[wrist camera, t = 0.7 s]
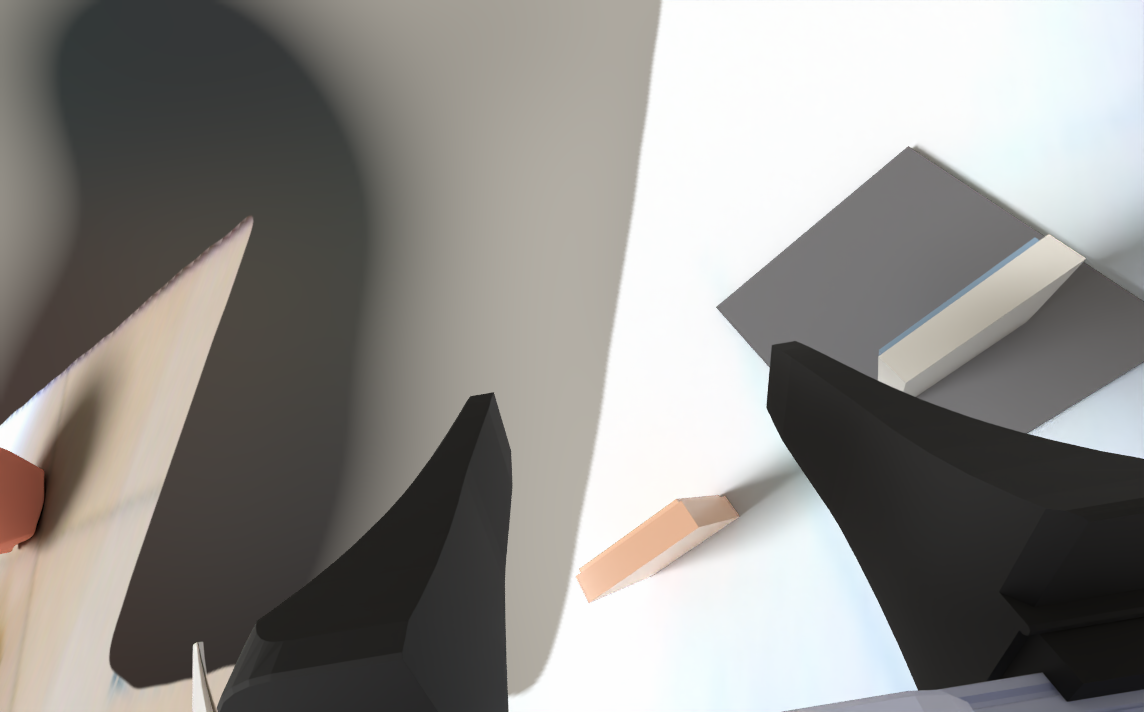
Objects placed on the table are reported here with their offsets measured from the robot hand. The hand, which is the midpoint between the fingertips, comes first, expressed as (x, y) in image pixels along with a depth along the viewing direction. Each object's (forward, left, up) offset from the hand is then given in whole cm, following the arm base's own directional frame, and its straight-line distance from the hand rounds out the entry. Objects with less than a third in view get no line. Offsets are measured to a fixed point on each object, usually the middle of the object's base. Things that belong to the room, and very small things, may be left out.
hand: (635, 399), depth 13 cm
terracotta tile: (-2, +6, -15) cm, 17 cm away
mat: (+1, -9, -15) cm, 18 cm away
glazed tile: (-2, -9, -15) cm, 18 cm away
